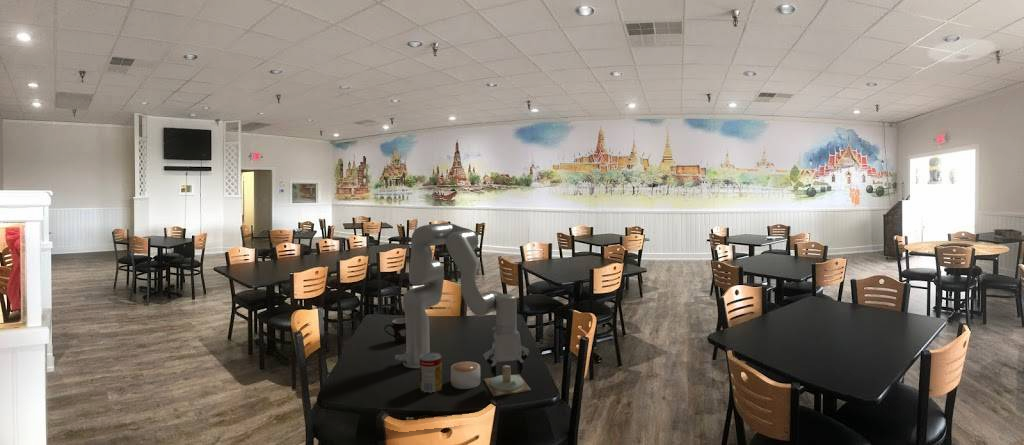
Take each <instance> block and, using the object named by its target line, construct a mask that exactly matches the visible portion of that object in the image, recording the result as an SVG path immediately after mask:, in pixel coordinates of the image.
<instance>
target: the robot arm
mask: <svg viewBox="0 0 1024 445" xmlns="http://www.w3.org/2000/svg"><path fill="white" fill-rule="evenodd" d="M410 245H411V252H410V261H409V269H408V280H409V283H410V284H411V285H412V286H416V287H413V288H410V289H409V290H407V291H405V293H404V294H403V296H402V305H403V310H404V315H405V319H406V343H405V344H406V346H405V348H406V350H405V352H404V353H402V354H395V356H394V360H395V361H398V362H402V365H403V367H405V368H408V369H420V356H421V355H422V354H425V353H431V349H430V348H431V347H430V346H431V345H430V342H431V341H430V337H431V336H430V319H429V316H428V313H427V312H426V310H427V309H429V308H431V307H432V308H433V307H435V306H436V305H439V303H440V301H441V300H442V298H443V297H442V295H443V288H444V280H445V269H444V266H443V264H442V263H441V262H440V261H439V260H437V259H433V249H432V246H439V245H445V248H446V249H447V251H448V253H449V255H450V256H451V258H452V260H453V262H454V264H455V265H456V268H457V270H458V271H459V274H460V290H461V295H462V298H463V299H464V301H465V303H466V305H467V307H468V309H469V310H470V312H471V313H473V314H474V315H475V316H478V317H483V316H486V315H488V314H490V313H495V318H496V319H495V325H494V326H492V327H491V328H492V331H494V332H493V340H492V348H491V349H488V350H487V351H486V352H484V353H483V354H482V355H483V357H484V359H485V361H486V362H487V363H488V364H489V365H490V374H491V375H492V377H493V378H494V377H496V376H497V366H496V364H497V363H499V362H500V363H501V362H511V361H516V371H517V373H518V374H519V375H521V374H522V371H523V363H524V361H525V360H526V359H527V358H528V355H529V353H530V349H529V348H527V347H525V346H522V343H521V342H522V341H521V335H520V334H521V333H520V331H518V329H517V328H518V324H517V322H518V321H517V320H518V318H517V316H518V312H517V309H518V306H517V297H516V296H515V295H514V294H511V293H502V292H499V291H497V290H489V291H486V292H484V293H481V292H480V290H479V288H478V286H477V283H476V281H477V280H476V279H477V278H476V277H477V274H478V272H479V270H480V268H481V267H482V266H481V265H482V264H481V262H480V259H479V258H478V255H477V254H476V252H475V251H474V250H475V249H477V248H478V246H479V238H478V236H477V234H476V233H475V232H474V231H473V230H470V229H468V228H466V227H463V226H460V225H457V224H454V223H451V222H440V223H432V224H425V225H421V226H418V227H417V228H415V230H414V231H413V232H412V235H411V238H410ZM522 352H523V354H522ZM491 355H492V358H489V356H491Z"/></svg>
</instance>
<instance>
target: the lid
mask: <svg viewBox="0 0 1024 445" xmlns="http://www.w3.org/2000/svg"><path fill="white" fill-rule="evenodd" d="M511 368H512V367H511V365H507V364H505V365H503V366H502V374H500V375H496V377H494V376H493V377H491V378H492V379H491V381H490V385H491V387H492V388H494V389H496V390H500V391H512V390H517V389H519V388H521V387H522V386H523V380H524V379H523V378H522V379H523V380H522V379H521V378H520V377H518V376H514V375H515V374H511V372H512V371H511V370H512V369H511Z"/></svg>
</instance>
